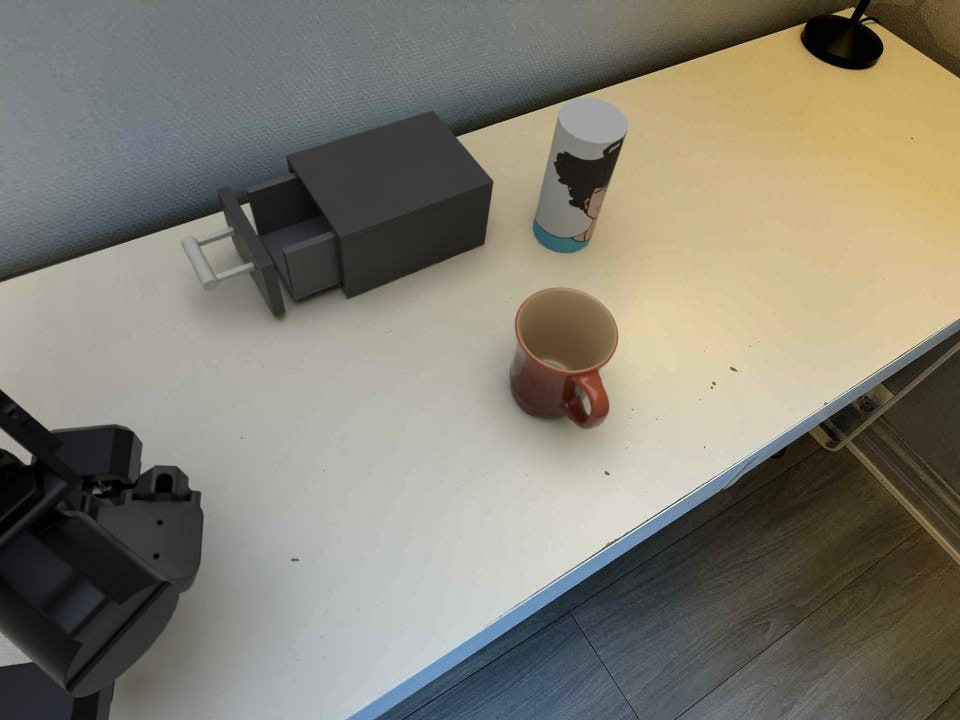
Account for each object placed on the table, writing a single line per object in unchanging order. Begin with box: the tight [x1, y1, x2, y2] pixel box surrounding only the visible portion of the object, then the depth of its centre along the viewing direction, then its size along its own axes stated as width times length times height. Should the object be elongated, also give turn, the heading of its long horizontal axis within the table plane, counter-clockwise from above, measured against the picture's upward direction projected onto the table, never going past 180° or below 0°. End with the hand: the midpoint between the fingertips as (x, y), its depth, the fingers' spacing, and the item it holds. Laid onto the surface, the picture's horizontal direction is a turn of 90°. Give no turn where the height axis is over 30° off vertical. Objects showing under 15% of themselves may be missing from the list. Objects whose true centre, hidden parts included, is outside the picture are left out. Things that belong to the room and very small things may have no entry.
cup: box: [532, 96, 629, 254], centre depth 69 cm, size 7×7×15 cm
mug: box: [509, 287, 619, 430], centre depth 59 cm, size 12×9×10 cm
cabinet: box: [285, 110, 495, 300], centre depth 69 cm, size 17×12×9 cm
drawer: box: [180, 173, 343, 318], centre depth 65 cm, size 20×11×7 cm, turn 122°
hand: (117, 601), depth 48 cm, fingers open, 9 cm apart
